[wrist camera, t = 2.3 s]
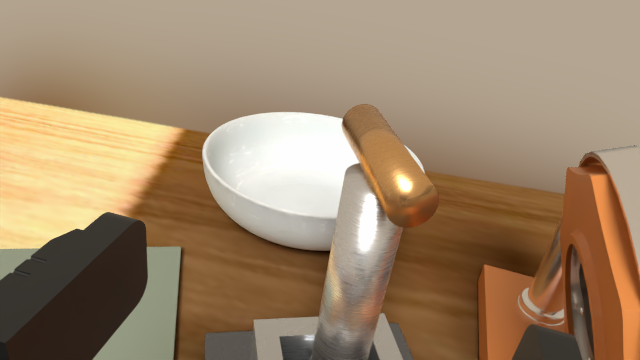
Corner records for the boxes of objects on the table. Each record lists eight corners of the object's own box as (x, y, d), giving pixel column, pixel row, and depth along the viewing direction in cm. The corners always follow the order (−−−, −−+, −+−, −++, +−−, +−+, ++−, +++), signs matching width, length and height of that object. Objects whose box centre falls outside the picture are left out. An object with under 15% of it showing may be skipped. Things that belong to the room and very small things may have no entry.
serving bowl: (440, 213, 54) (458, 156, 50) (340, 324, 38) (356, 252, 34) (286, 146, 62) (292, 94, 59) (153, 214, 46) (150, 148, 43)
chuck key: (377, 472, 27) (475, 182, 18) (298, 482, 26) (359, 180, 17) (347, 366, 33) (409, 106, 24) (281, 370, 32) (320, 101, 23)
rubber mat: (169, 427, 29) (168, 420, 28) (-162, 458, 25) (-167, 451, 25) (181, 252, 42) (181, 246, 42) (-34, 255, 38) (-36, 249, 38)
